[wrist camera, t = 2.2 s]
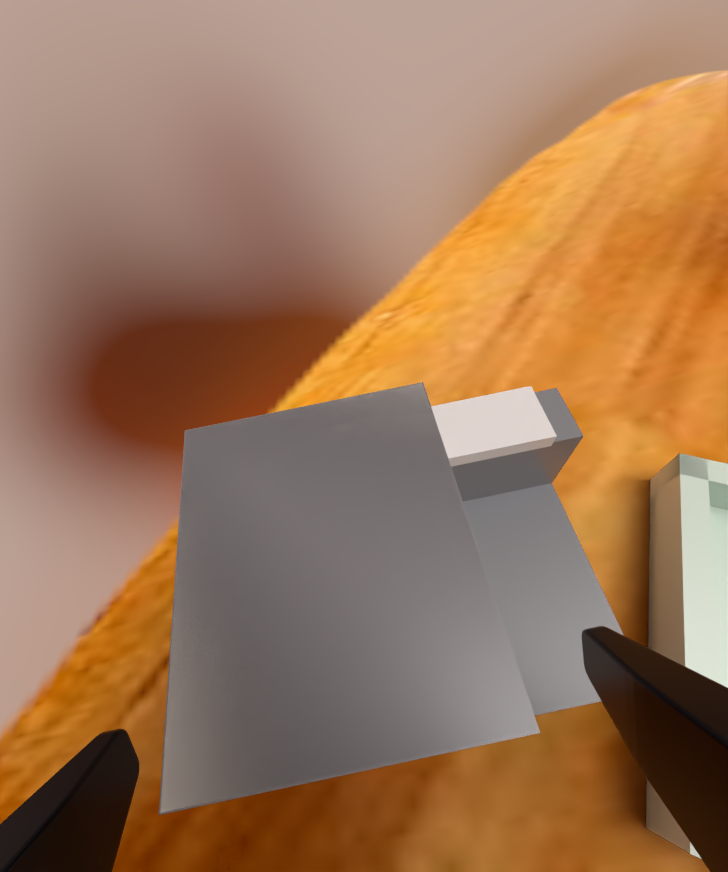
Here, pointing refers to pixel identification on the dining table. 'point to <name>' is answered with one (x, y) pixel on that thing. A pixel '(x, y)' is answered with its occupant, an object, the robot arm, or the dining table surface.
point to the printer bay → (528, 534)
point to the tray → (688, 586)
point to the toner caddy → (328, 604)
